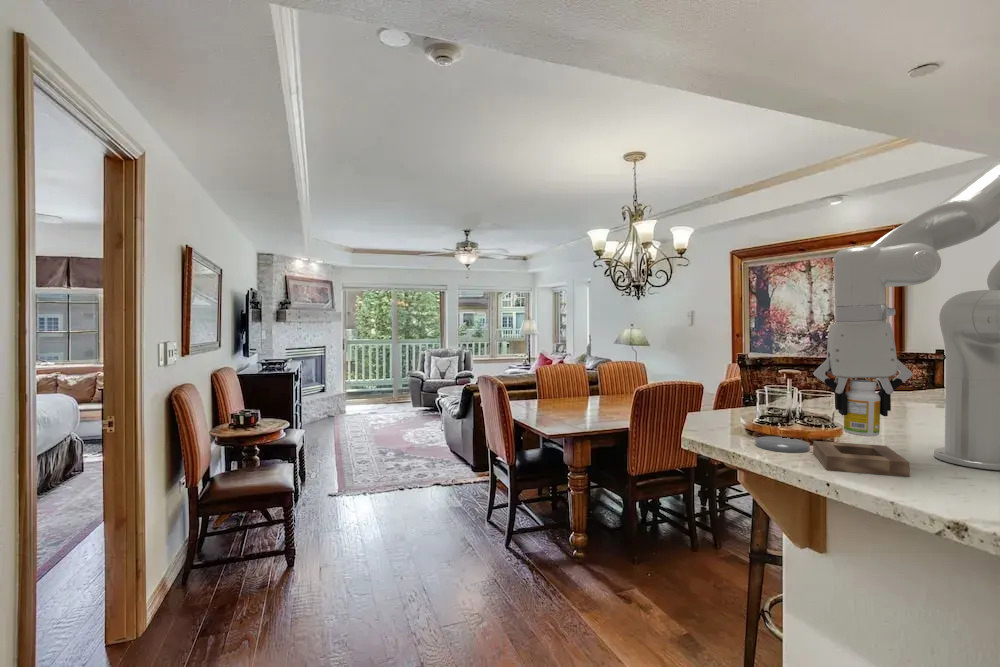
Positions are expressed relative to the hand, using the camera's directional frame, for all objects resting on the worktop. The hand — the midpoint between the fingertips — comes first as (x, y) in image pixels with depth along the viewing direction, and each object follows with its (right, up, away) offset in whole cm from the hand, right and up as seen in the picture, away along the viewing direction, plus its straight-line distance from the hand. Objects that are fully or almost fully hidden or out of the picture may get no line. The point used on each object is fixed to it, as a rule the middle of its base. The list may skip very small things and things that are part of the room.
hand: (862, 413), depth 94 cm
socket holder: (-1, -9, 0) cm, 9 cm away
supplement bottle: (0, -4, 0) cm, 4 cm away
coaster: (-7, -9, +14) cm, 18 cm away
